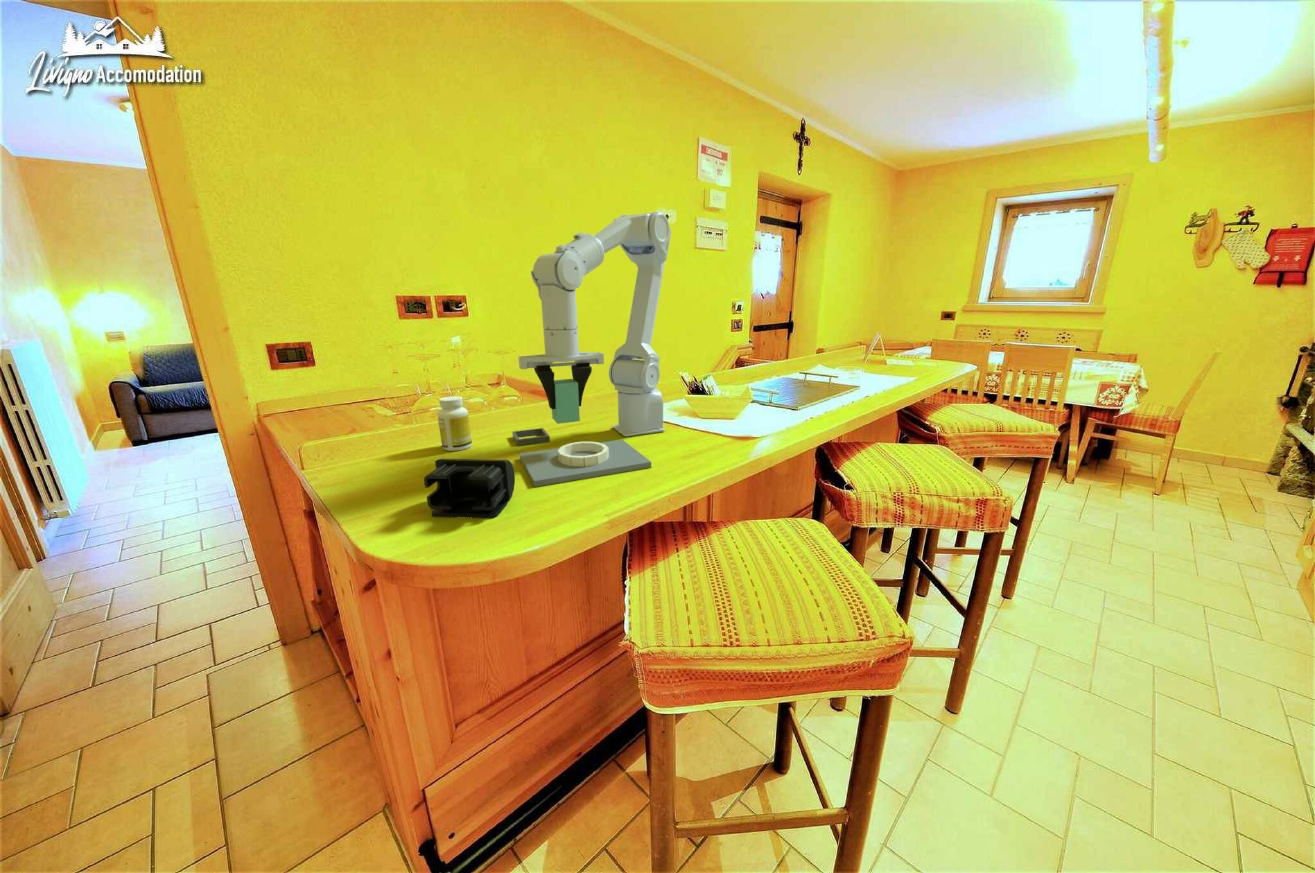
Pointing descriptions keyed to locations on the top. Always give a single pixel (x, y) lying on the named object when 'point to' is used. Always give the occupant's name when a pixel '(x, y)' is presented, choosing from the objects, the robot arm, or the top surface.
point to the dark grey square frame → (528, 433)
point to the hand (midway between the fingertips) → (565, 406)
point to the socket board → (564, 473)
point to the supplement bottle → (454, 424)
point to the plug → (566, 401)
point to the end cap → (470, 487)
